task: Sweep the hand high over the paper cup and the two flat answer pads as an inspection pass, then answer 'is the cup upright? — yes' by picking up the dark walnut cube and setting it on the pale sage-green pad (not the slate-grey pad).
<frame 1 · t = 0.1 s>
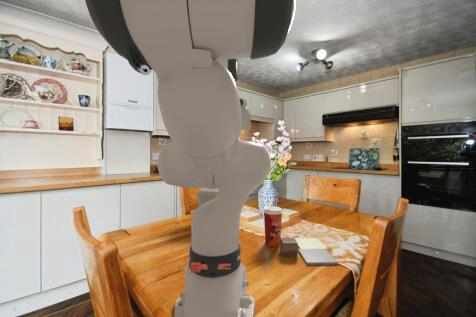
hand: (220, 144, 76), 39 cm above the table, tool pointing down, fingers open, 8 cm apart
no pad: (316, 257, 77), on the table
canister: (214, 223, 113), on the table
paper cup: (272, 243, 89), on the table
walnut cube: (288, 254, 80), on the table
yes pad: (309, 245, 87), on the table
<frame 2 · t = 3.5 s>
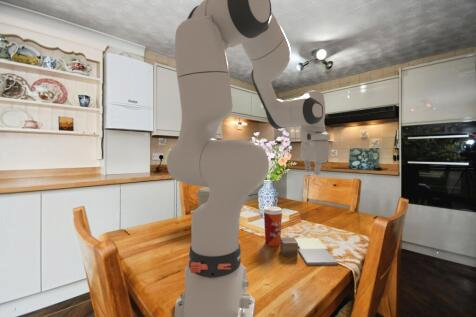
hand: (312, 172, 85), 28 cm above the table, tool pointing down, fingers open, 8 cm apart
nothing on the table moved.
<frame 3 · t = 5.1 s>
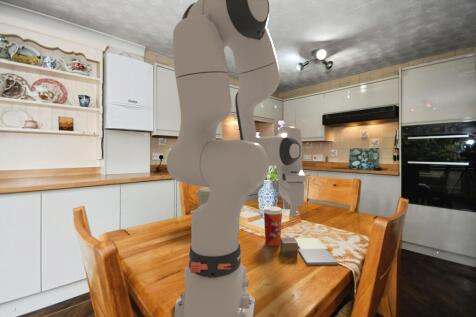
hand: (289, 212, 80), 15 cm above the table, tool pointing down, fingers open, 8 cm apart
nothing on the table moved.
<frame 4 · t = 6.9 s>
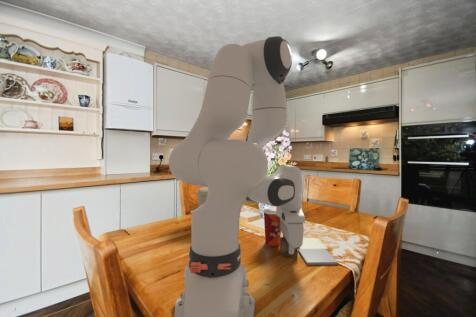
hand: (288, 249, 80), 2 cm above the table, tool pointing down, fingers closed on walnut cube, 5 cm apart
walnut cube: (288, 253, 80), on the table, touching gripper
everything else where it was.
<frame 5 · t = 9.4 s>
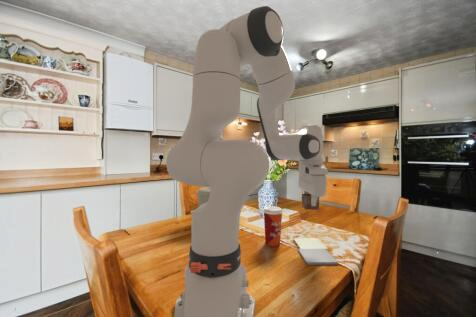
hand: (310, 203, 87), 16 cm above the table, tool pointing down, fingers closed on walnut cube, 5 cm apart
walnut cube: (310, 207, 87), point 15 cm above the table, touching gripper
everything else where it was.
when the fingers open (4 cm above the table, at t = 11.9 s): walnut cube drops 1 cm, resting on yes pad.
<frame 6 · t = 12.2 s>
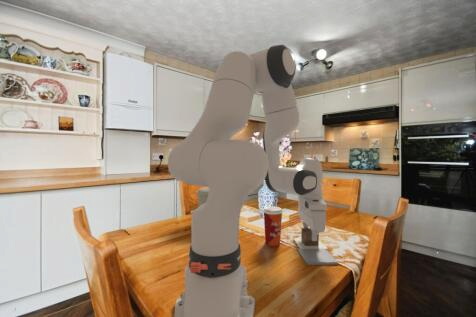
hand: (309, 235, 87), 4 cm above the table, tool pointing down, fingers open, 7 cm apart
walnut cube: (309, 243, 87), point 1 cm above the table, touching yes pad
everything else where it was.
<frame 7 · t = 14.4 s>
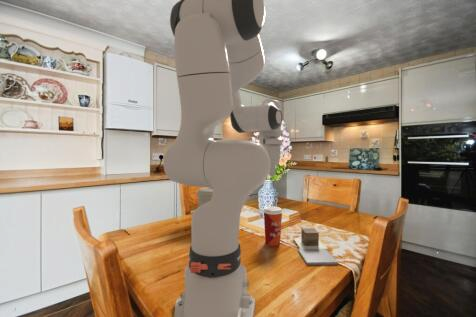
hand: (270, 175, 92), 27 cm above the table, tool pointing down, fingers open, 8 cm apart
nothing on the table moved.
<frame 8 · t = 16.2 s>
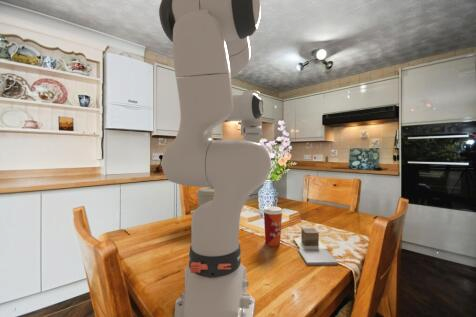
hand: (251, 163, 95), 31 cm above the table, tool pointing down, fingers open, 8 cm apart
nothing on the table moved.
at the end: walnut cube inside the target area on the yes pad (0.1 cm from its centre), point 0.8 cm above the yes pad's base; the gripper is holding nothing; walnut cube tilted 0° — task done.
